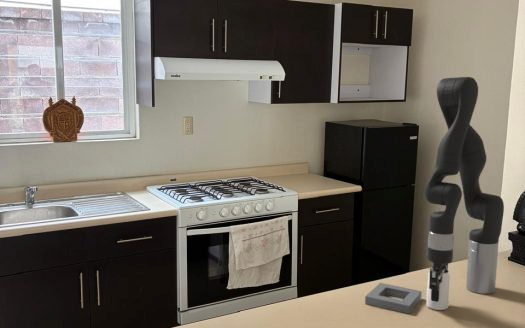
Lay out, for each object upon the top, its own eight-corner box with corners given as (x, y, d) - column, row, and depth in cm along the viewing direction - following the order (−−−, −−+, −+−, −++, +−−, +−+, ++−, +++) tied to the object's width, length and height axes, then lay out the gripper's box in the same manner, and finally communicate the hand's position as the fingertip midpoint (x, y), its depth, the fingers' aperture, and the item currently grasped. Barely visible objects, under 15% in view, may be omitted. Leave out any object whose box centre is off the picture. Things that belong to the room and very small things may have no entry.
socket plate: (379, 289, 181) (380, 282, 180) (421, 298, 173) (421, 291, 173) (365, 303, 169) (365, 296, 169) (408, 313, 162) (409, 305, 161)
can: (449, 311, 163) (451, 274, 161) (427, 310, 164) (429, 272, 163) (446, 303, 169) (448, 267, 168) (425, 301, 171) (427, 266, 169)
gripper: (447, 253, 156) (444, 307, 159) (458, 242, 168) (455, 292, 171) (421, 249, 160) (419, 302, 162) (433, 238, 172) (431, 287, 175)
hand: (437, 297), depth 167 cm, fingers closed on can, 6 cm apart
